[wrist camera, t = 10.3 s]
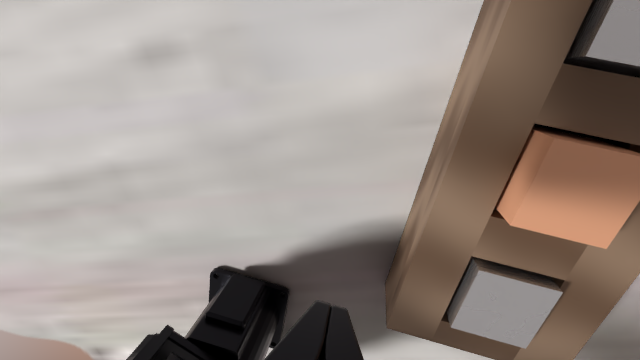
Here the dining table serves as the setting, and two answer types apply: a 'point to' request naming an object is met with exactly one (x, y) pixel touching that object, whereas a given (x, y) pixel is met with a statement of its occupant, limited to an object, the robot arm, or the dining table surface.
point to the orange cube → (571, 187)
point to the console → (493, 172)
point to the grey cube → (502, 302)
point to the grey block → (608, 38)
